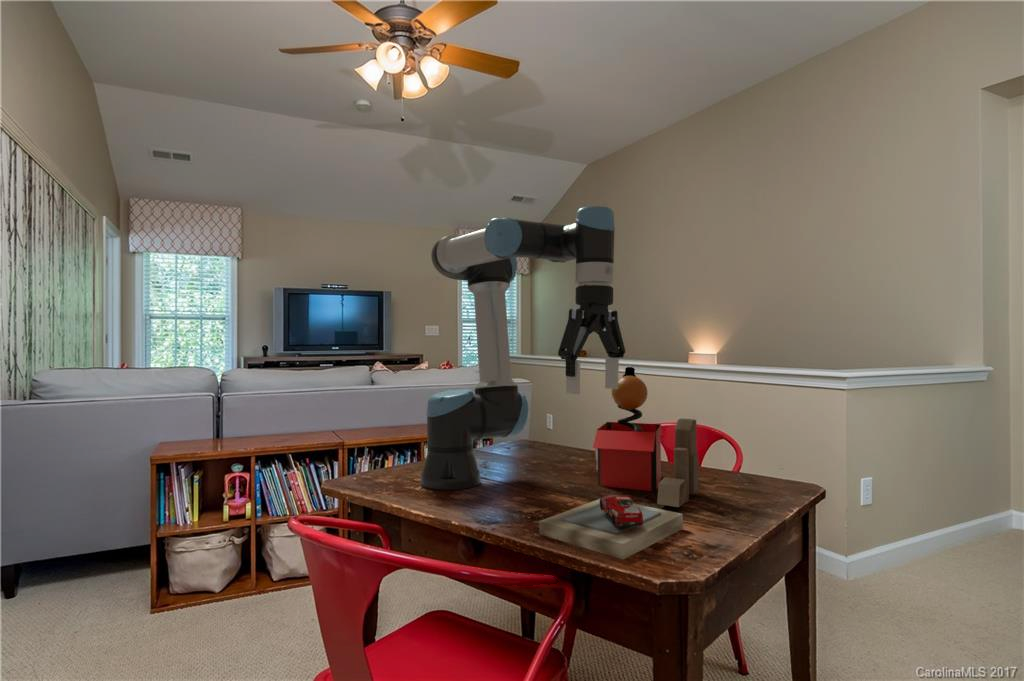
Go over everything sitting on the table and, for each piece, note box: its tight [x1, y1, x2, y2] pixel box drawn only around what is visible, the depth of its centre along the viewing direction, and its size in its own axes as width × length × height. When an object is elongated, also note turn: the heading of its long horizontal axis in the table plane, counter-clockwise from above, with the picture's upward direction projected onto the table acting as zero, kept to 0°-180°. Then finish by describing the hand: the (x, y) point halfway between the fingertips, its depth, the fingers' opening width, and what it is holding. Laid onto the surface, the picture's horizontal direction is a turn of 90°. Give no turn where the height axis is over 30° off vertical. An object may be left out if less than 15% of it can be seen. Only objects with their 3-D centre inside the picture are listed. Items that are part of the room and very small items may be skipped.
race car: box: [599, 494, 643, 527], centre depth 105 cm, size 13×5×4 cm, turn 6°
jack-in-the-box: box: [592, 366, 664, 492], centre depth 148 cm, size 26×16×30 cm, turn 160°
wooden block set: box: [656, 418, 699, 508], centre depth 130 cm, size 17×6×18 cm, turn 148°
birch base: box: [538, 498, 684, 560], centre depth 108 cm, size 18×22×3 cm
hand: (593, 391), depth 114 cm, fingers open, 13 cm apart
